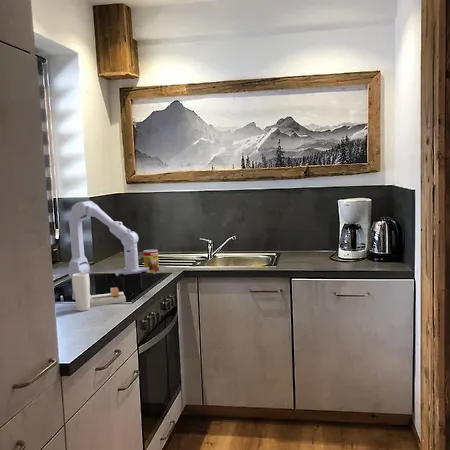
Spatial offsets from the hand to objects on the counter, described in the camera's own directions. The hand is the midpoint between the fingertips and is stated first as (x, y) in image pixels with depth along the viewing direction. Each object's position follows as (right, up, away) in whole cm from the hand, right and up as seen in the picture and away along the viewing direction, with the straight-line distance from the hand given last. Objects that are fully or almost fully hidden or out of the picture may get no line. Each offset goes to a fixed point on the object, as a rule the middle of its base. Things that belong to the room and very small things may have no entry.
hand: (133, 289), depth 239 cm
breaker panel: (-12, -5, -3) cm, 13 cm away
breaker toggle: (-8, -2, -2) cm, 8 cm away
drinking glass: (-18, -7, -16) cm, 25 cm away
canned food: (0, +3, +57) cm, 57 cm away
